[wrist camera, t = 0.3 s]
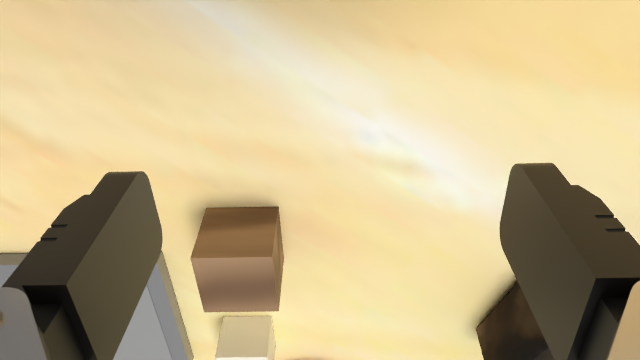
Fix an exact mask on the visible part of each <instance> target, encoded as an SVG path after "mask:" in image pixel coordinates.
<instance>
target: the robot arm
mask: <svg viewBox="0 0 640 360" xmlns="http://www.w3.org/2000/svg"><path fill="white" fill-rule="evenodd" d="M500 240H501V245H502V248H503V251H504V253H505V255H506V257H507V259H508V262H509V264H510V266H511V268H512V270H513V272H514V274H515V277H516V279H517V281H518V283H519V285H520V287H521V289H522V291H523V294H524V296H525V298H526V300H527V302H528V304H529V306H530V308H531V311H532V313H533V315H534V317H535V319H536V321H537V323H538V326H539V328H540V330H541V332H542V334H543V336H544V338H545V340H546V343H547V345H548V347H549V349H550V351H551V353H552V355H553V357H554V360H640V245H639V244H638V243H637V242H636V240H635V239H634V238H633V237H632V236H631V235H630V233H629V232H625V227H624V226H623V225H622V224H621V223H620V222H619V220H618V219H617V218H614V214H613V213H612V212H611V211H610V210H609V209H608V207H607V206H606V205H605V204H604V203H603V201H602V200H601V199H600V198H598V197H597V196H595V195H593V194H592V193H590V192H589V191H587V190H585V189H584V188H582V187H581V186H579V185H570V183H569V182H568V181H567V180H566V178H565V177H564V176H563V175H562V173H561V172H560V171H559V170H558V168H557V167H556V166H555V165H554V164H553V163H526V164H515V165H514V166H513V167H512V169H511V172H510V176H509V181H508V186H507V191H506V196H505V201H504V206H503V211H502V216H501V221H500ZM161 248H162V229H161V224H160V220H159V217H158V213H157V209H156V205H155V201H154V197H153V193H152V190H151V186H150V182H149V179H148V177H147V175H146V174H145V173H144V172H142V171H139V172H108V173H107V174H105V176H104V177H103V178H102V179H101V181H100V182H99V183H98V185H97V186H96V187H95V189H94V190H93V191H92V193H91V194H90V195H83V196H82V197H80V198H79V199H77V200H76V201H75V202H73V203H72V204H70V205H69V206H67V207H66V208H64V209H63V211H62V212H61V213H60V214H59V216H58V217H57V218H56V219H55V221H54V222H53V223H52V224H51V228H48V229H47V231H46V232H45V233H44V234H43V236H42V237H41V241H39V242H37V243H36V244H35V246H34V247H33V248H32V249H31V251H30V252H29V253H28V254H27V256H26V257H25V258H24V259H23V261H22V262H21V263H20V264H19V266H18V267H17V268H16V269H15V271H14V272H13V273H12V274H11V276H10V277H9V278H8V279H7V281H6V282H5V283H4V284H3V286H2V287H0V360H113V359H114V356H115V354H116V352H117V350H118V347H119V345H120V343H121V341H122V338H123V336H124V334H125V332H126V329H127V327H128V325H129V323H130V320H131V318H132V316H133V314H134V311H135V309H136V307H137V305H138V303H139V300H140V298H141V296H142V294H143V291H144V289H145V287H146V285H147V282H148V280H149V278H150V276H151V273H152V271H153V269H154V267H155V264H156V262H157V260H158V258H159V255H160V252H161Z"/></svg>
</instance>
